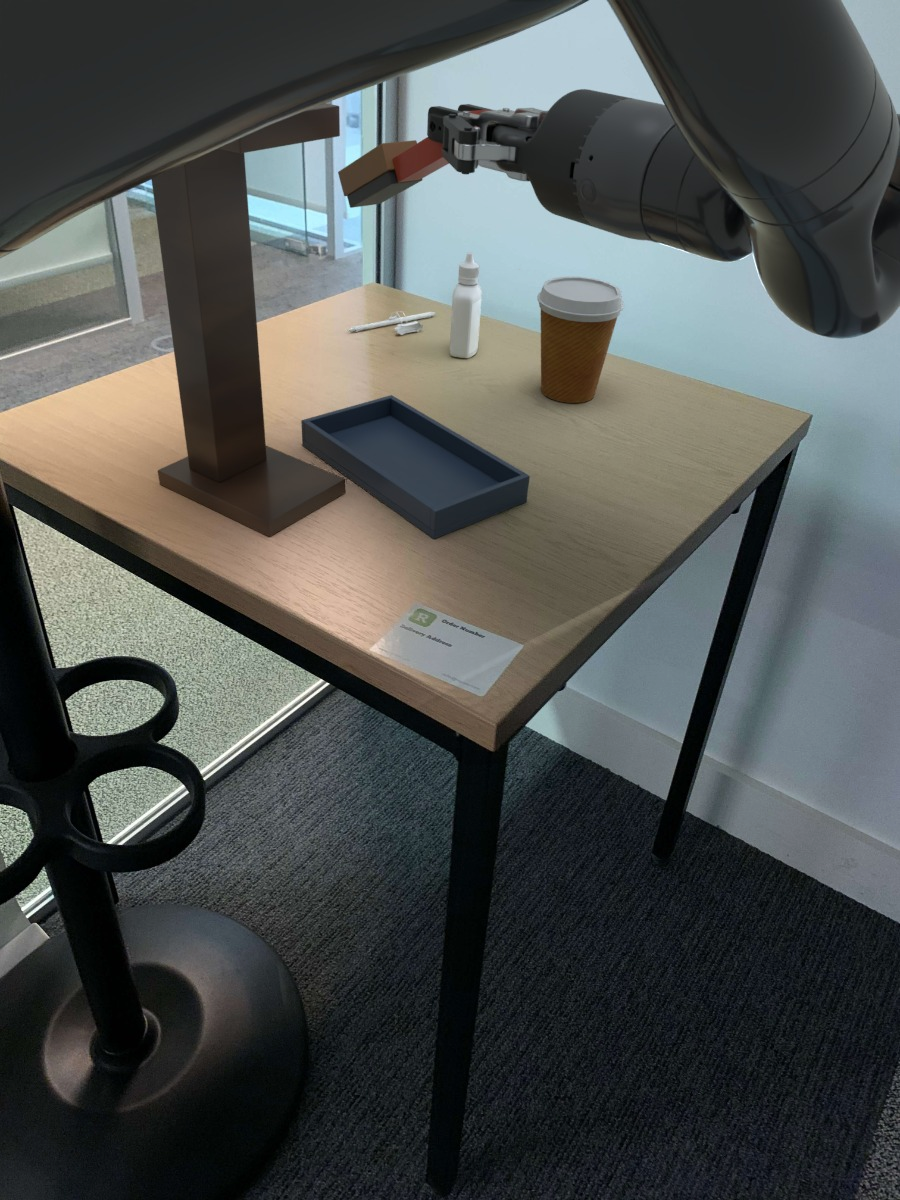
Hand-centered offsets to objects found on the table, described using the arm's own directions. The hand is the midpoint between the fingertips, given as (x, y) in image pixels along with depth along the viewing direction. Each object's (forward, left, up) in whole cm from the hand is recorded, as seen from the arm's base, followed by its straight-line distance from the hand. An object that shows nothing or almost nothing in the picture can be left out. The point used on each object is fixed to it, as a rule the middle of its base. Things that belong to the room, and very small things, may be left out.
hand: (446, 121), depth 67 cm
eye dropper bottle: (+10, +35, -31) cm, 48 cm away
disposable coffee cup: (+20, +22, -31) cm, 43 cm away
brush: (-1, +3, -4) cm, 5 cm away
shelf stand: (-16, +2, -31) cm, 35 cm away
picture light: (+3, +43, -31) cm, 53 cm away
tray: (-1, +4, -31) cm, 31 cm away
